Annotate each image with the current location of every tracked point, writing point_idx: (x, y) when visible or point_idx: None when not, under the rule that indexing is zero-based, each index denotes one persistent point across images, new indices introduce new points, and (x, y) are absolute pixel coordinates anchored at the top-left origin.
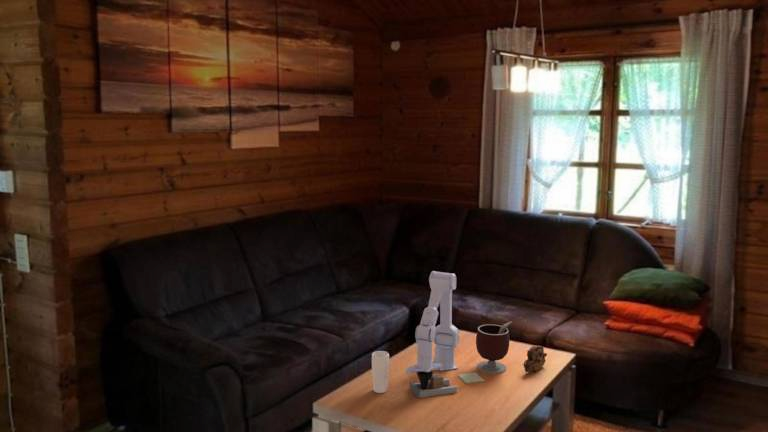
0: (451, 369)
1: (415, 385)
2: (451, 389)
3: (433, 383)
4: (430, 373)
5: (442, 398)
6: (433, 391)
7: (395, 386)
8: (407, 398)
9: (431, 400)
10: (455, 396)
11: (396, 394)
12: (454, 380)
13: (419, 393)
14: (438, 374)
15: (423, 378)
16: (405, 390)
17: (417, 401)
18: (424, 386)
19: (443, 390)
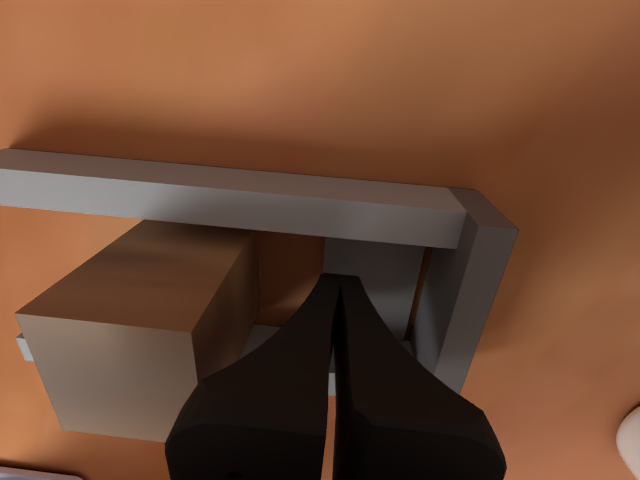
0: (5, 467)
1: (451, 343)
2: (36, 163)
3: (223, 287)
4: (229, 437)
5: (206, 64)
6: (271, 188)
7: (503, 432)
8: (579, 219)
9: (359, 64)
10: (36, 54)
11: (607, 328)
12: (4, 350)
13: (464, 206)
14: (79, 407)
15: (398, 375)
16: (476, 358)
17: (533, 106)
18: (350, 292)
19: (139, 172)
